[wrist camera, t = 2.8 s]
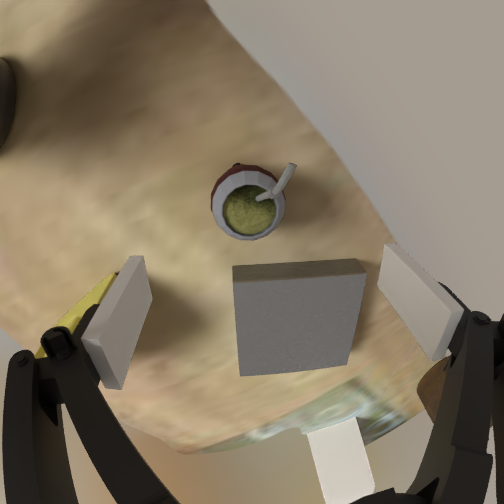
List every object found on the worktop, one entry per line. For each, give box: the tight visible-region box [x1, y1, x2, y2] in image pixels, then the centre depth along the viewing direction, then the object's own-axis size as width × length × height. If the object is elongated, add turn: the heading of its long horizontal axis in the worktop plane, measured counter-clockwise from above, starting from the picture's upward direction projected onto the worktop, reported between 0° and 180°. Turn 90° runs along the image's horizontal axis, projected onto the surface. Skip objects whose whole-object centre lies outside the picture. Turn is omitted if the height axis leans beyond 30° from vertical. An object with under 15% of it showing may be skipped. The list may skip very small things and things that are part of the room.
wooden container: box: [417, 356, 493, 440], centre depth 44 cm, size 15×15×22 cm
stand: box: [232, 259, 367, 376], centre depth 39 cm, size 16×16×4 cm
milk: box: [307, 417, 376, 504], centre depth 47 cm, size 12×12×26 cm
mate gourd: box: [211, 163, 297, 240], centre depth 26 cm, size 8×8×15 cm
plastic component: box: [34, 273, 117, 380], centre depth 35 cm, size 20×7×10 cm, turn 125°
